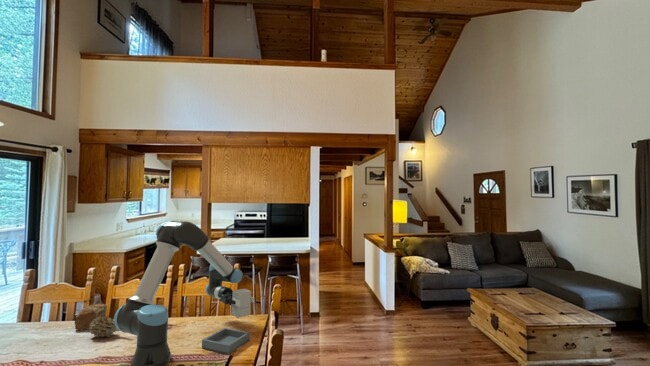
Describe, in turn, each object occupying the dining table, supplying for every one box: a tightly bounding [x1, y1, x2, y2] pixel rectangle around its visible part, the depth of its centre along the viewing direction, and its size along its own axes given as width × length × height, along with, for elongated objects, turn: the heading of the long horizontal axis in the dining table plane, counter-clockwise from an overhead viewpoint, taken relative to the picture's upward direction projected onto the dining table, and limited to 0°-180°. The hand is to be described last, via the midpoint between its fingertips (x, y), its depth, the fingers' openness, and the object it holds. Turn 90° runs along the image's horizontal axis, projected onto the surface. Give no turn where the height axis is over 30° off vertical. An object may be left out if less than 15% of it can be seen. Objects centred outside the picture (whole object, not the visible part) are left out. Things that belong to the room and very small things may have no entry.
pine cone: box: [88, 316, 122, 338], centre depth 162 cm, size 22×10×10 cm, turn 89°
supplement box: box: [231, 288, 252, 319], centre depth 166 cm, size 7×7×13 cm
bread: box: [74, 303, 107, 331], centre depth 180 cm, size 19×11×10 cm, turn 19°
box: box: [201, 327, 251, 355], centre depth 153 cm, size 16×16×4 cm
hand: (246, 301), depth 163 cm, fingers closed on supplement box, 8 cm apart
